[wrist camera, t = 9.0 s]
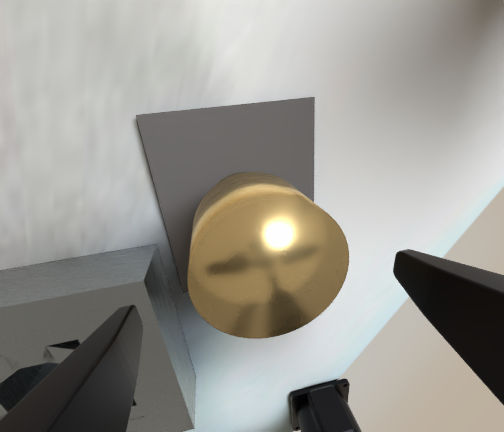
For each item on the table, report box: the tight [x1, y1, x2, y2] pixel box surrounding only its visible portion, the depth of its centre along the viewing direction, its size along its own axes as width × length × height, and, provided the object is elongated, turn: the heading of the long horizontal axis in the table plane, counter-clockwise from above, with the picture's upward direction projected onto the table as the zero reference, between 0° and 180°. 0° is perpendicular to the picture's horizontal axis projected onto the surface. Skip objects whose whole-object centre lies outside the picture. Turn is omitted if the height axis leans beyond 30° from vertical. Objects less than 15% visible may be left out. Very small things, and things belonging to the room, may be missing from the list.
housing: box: [0, 244, 196, 432], centre depth 16 cm, size 14×14×4 cm
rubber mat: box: [136, 97, 314, 293], centre depth 16 cm, size 12×10×1 cm
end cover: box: [188, 172, 349, 338], centre depth 12 cm, size 6×6×8 cm
